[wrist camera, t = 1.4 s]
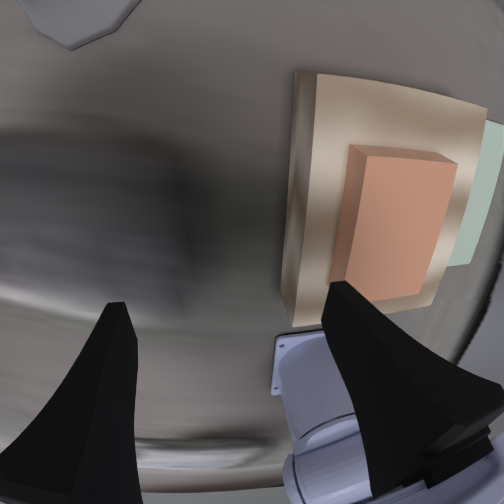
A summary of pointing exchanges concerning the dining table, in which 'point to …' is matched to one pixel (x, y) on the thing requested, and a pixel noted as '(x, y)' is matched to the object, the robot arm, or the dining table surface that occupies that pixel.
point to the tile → (390, 219)
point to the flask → (76, 18)
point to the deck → (335, 165)
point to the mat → (479, 194)
